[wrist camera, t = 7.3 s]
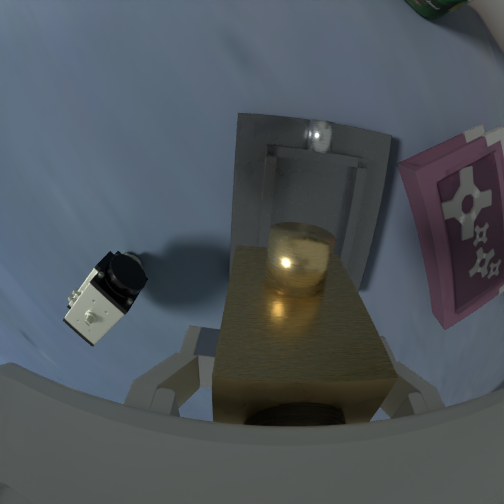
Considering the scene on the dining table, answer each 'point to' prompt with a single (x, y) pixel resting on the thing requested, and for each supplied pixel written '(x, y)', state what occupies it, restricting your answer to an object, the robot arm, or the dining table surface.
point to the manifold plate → (308, 183)
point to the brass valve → (297, 338)
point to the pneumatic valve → (105, 296)
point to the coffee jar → (436, 7)
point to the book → (460, 219)
